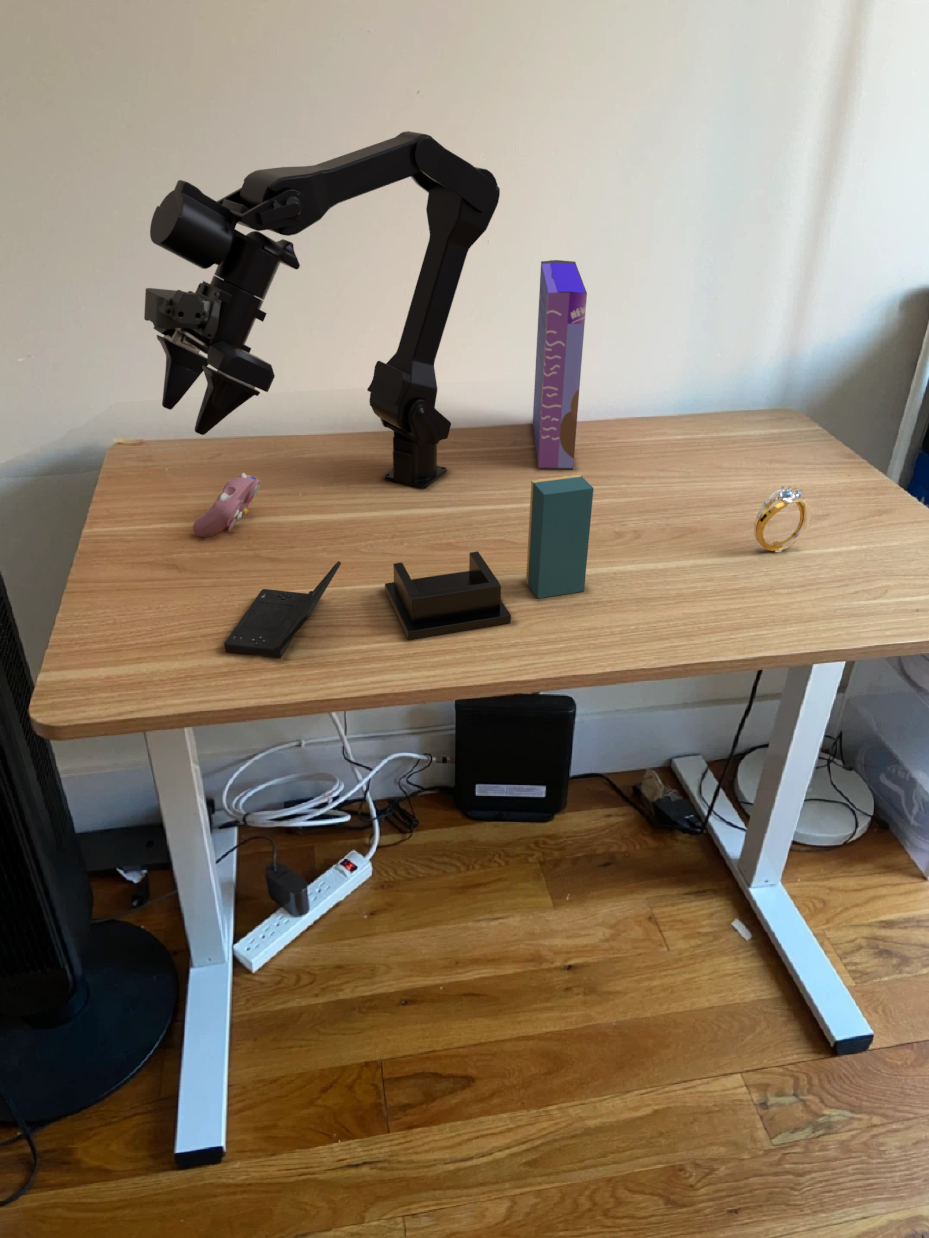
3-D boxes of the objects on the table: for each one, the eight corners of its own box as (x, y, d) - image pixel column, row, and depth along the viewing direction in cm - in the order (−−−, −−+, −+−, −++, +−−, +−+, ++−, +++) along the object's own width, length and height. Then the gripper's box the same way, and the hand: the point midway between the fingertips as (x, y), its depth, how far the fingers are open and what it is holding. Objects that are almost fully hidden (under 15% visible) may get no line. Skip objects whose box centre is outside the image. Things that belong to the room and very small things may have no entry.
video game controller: (222, 553, 113) (240, 508, 109) (187, 534, 113) (205, 489, 109) (253, 516, 122) (272, 474, 118) (221, 499, 121) (239, 455, 117)
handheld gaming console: (241, 582, 101) (290, 523, 96) (298, 614, 104) (349, 559, 99) (217, 656, 93) (269, 596, 87) (280, 689, 96) (334, 633, 90)
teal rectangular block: (525, 582, 105) (531, 480, 99) (571, 575, 107) (579, 474, 100) (537, 598, 103) (543, 494, 96) (584, 591, 104) (593, 488, 97)
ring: (795, 541, 114) (809, 480, 110) (809, 553, 112) (824, 491, 107) (743, 547, 113) (755, 486, 108) (756, 560, 110) (769, 498, 106)
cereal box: (573, 469, 131) (587, 291, 118) (538, 469, 131) (548, 291, 118) (563, 423, 146) (575, 260, 133) (532, 422, 146) (541, 259, 133)
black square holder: (384, 591, 104) (383, 559, 101) (480, 576, 106) (481, 545, 104) (408, 640, 96) (407, 606, 93) (510, 623, 98) (512, 590, 96)
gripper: (139, 237, 103) (85, 370, 106) (210, 271, 90) (146, 421, 93) (226, 283, 111) (174, 405, 114) (302, 320, 98) (241, 457, 101)
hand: (182, 420), depth 105 cm, fingers open, 9 cm apart
